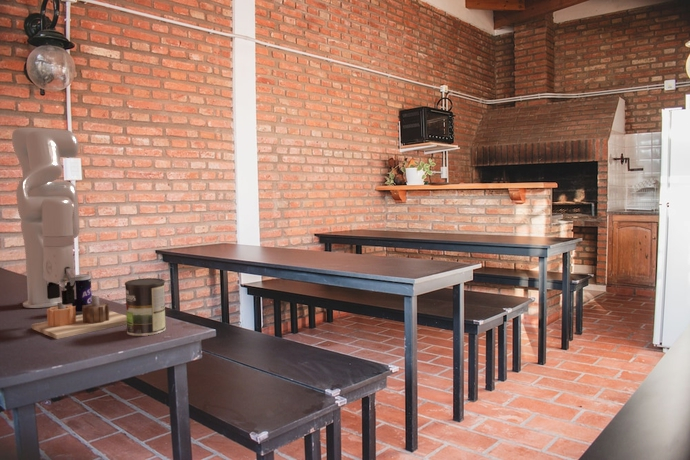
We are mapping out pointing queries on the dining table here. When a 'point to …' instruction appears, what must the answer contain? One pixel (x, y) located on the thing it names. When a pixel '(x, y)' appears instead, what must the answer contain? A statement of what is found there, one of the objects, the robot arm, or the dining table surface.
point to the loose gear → (61, 316)
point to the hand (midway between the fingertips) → (61, 300)
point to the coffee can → (145, 306)
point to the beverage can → (82, 292)
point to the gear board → (84, 321)
